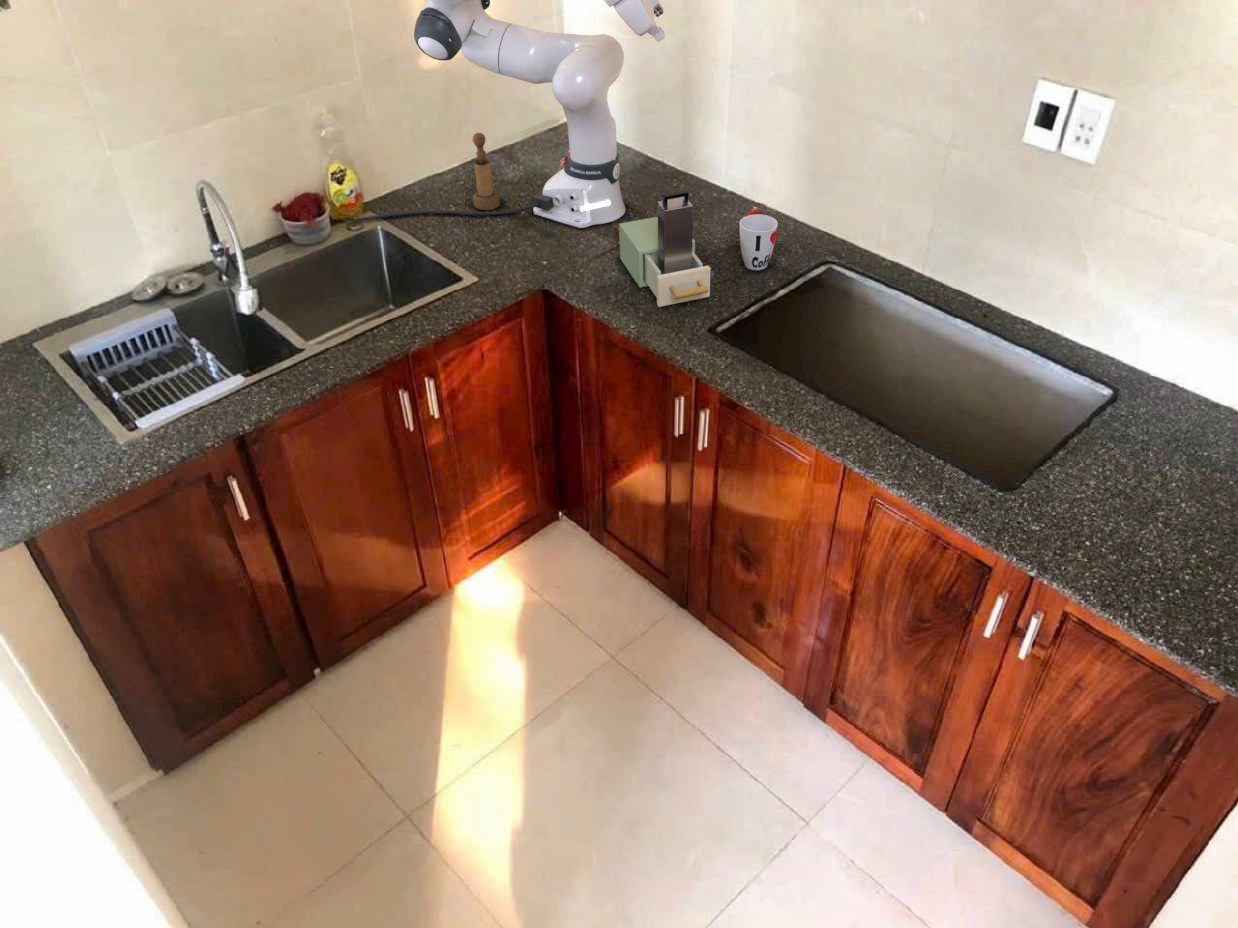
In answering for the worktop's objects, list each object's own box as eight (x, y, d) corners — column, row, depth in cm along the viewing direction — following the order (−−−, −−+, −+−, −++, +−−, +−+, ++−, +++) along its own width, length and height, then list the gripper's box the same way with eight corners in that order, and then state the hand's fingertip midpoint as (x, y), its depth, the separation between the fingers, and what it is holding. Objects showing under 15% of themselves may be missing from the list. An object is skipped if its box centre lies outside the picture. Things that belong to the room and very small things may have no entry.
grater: (692, 286, 210) (694, 195, 197) (664, 292, 209) (664, 201, 195) (684, 276, 214) (685, 185, 200) (656, 281, 212) (656, 191, 199)
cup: (750, 277, 216) (753, 235, 210) (730, 261, 222) (732, 220, 215) (781, 267, 219) (785, 226, 212) (761, 252, 224) (763, 211, 218)
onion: (766, 233, 231) (768, 201, 226) (766, 245, 227) (769, 213, 221) (741, 232, 232) (743, 200, 226) (741, 244, 227) (742, 212, 222)
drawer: (717, 306, 206) (718, 277, 201) (665, 317, 203) (665, 288, 199) (688, 268, 218) (688, 240, 214) (638, 278, 215) (638, 250, 211)
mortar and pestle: (505, 202, 247) (497, 131, 236) (489, 212, 243) (480, 141, 232) (484, 196, 250) (475, 126, 238) (468, 206, 246) (458, 136, 234)
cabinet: (694, 276, 217) (695, 241, 211) (639, 287, 214) (639, 251, 209) (672, 248, 227) (672, 213, 221) (620, 258, 224) (618, 223, 219)
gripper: (605, -47, 194) (647, 8, 203) (603, 5, 181) (648, 62, 190) (631, -67, 191) (672, -10, 200) (631, -16, 178) (676, 43, 187)
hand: (661, 25), depth 195 cm, fingers open, 8 cm apart
